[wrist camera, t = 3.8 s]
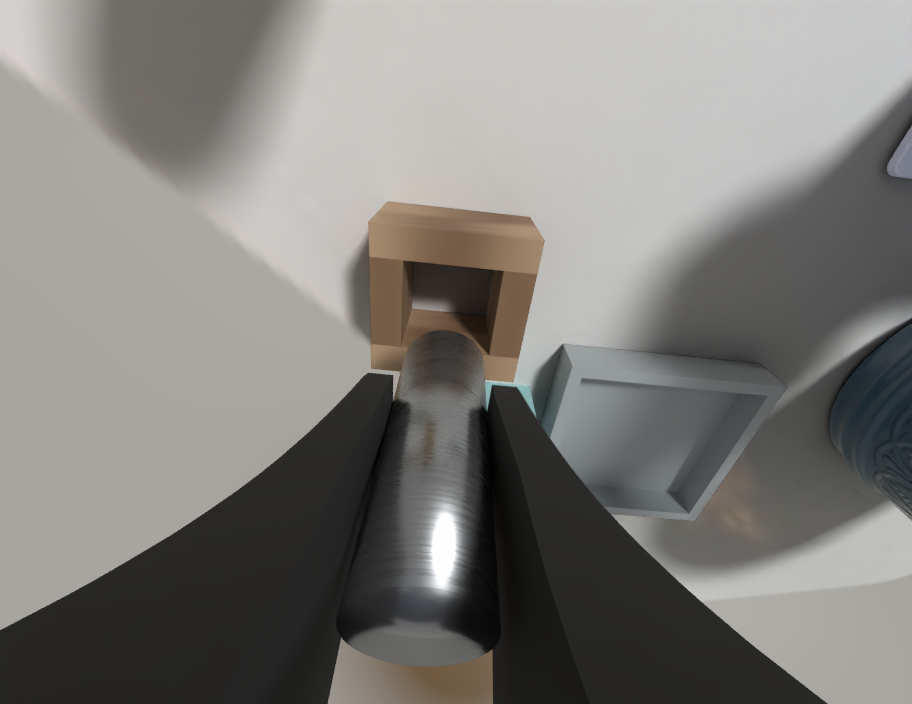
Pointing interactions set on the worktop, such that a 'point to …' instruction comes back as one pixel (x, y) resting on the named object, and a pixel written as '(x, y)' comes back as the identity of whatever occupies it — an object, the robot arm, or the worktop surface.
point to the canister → (879, 420)
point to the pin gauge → (428, 519)
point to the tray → (654, 425)
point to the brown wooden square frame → (459, 244)
